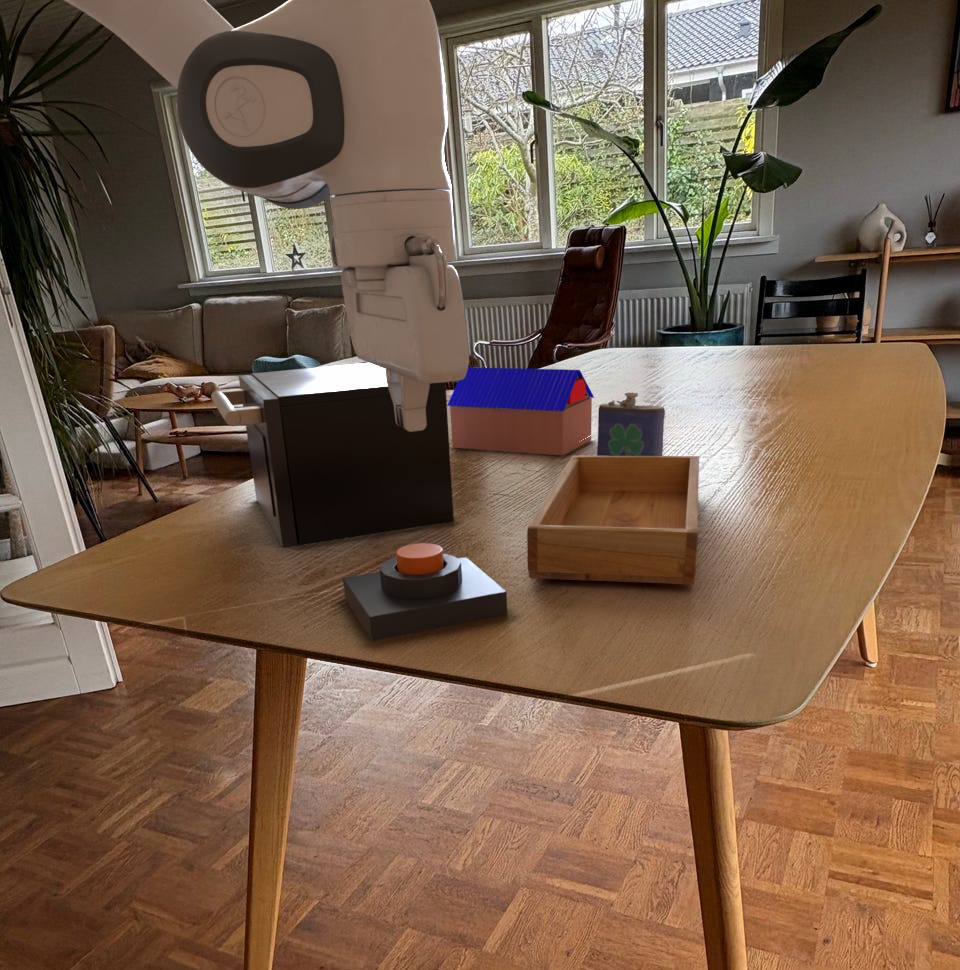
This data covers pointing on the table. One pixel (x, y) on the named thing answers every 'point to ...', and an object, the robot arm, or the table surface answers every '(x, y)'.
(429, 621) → the control block
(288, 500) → the oven door
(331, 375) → the oven
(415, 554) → the button
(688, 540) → the tray
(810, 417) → the table surface
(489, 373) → the house
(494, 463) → the table surface
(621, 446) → the flask
